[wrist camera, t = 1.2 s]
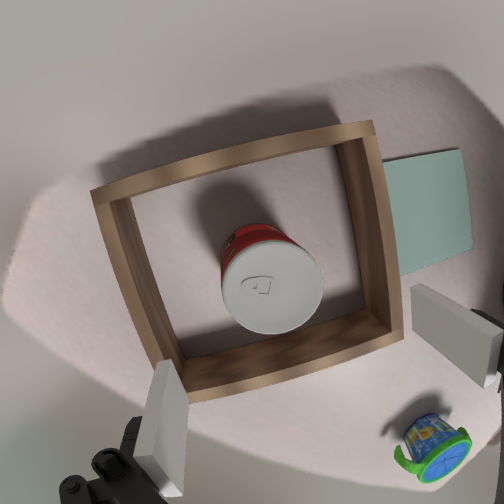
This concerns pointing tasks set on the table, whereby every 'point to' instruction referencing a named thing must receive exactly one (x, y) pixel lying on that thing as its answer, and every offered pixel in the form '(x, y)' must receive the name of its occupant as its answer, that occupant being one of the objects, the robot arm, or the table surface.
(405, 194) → the mat
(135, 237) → the frame
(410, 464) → the snack cup
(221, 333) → the table surface
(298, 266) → the canned food
